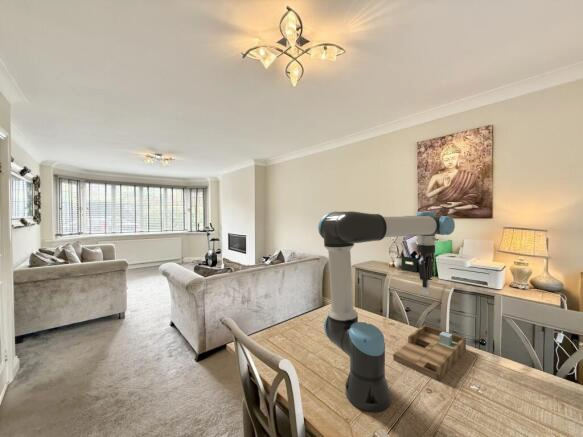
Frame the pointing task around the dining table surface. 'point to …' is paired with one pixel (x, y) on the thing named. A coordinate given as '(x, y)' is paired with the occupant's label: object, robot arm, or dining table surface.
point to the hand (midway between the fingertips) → (425, 293)
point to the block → (445, 338)
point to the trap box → (430, 352)
